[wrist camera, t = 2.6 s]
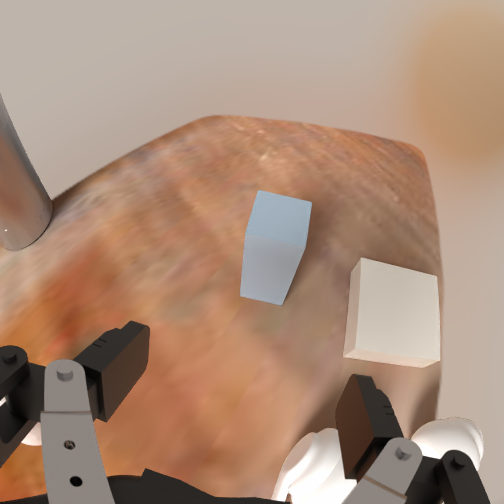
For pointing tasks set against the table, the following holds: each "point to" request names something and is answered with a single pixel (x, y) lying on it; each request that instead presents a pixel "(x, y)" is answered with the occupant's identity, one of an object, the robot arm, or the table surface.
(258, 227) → the pillar
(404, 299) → the base
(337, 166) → the table surface
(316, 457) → the headphones
